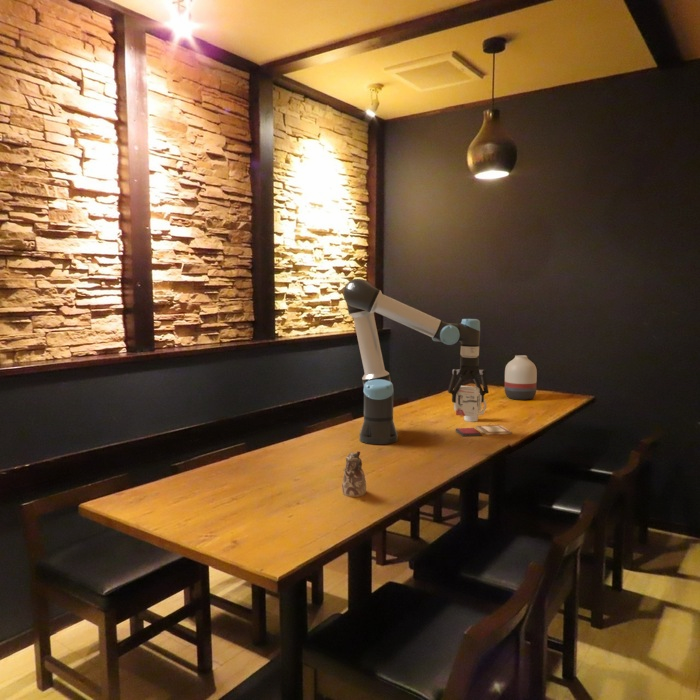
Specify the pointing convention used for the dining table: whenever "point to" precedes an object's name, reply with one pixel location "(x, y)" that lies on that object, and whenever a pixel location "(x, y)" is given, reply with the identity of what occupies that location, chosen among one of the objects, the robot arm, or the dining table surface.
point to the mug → (473, 419)
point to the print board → (493, 429)
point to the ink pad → (468, 432)
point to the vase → (520, 378)
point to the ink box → (468, 401)
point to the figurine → (354, 476)
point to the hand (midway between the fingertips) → (467, 410)
